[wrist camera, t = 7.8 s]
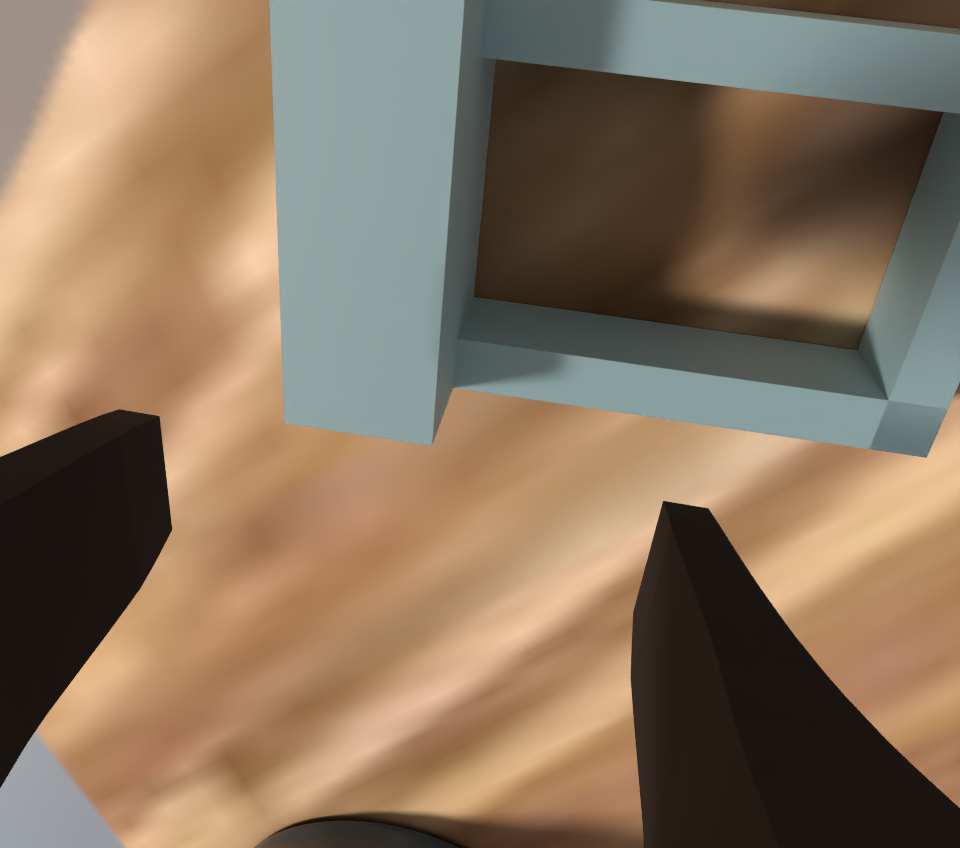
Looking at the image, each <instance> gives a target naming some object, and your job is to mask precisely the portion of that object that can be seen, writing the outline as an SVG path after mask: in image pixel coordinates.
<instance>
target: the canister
mask: <svg viewBox="0 0 960 848" xmlns="http://www.w3.org/2000/svg"><path fill="white" fill-rule="evenodd" d="M255 848H459V847H456V846H454V845H452V844H450V843H448V842H445V841H443V840H441V839H438V838H436V837H433V836H430V835H427V834H424V833H421V832H418V831H414V830H411V829H407V828H403V827H398V826H393V825H389V824H383V823H376V822H367V821H346V820H338V821H323V822H315V823H309V824H304V825H300V826H296V827H292V828H289V829H286V830H283V831H281V832H278V833H276V834H274V835H272V836H270V837H268V838H267V839H265V840H264V841H262V842H261V843H260V844H258V845H257V846H256V847H255Z"/></svg>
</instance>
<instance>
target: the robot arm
mask: <svg viewBox="0 0 960 848" xmlns="http://www.w3.org/2000/svg"><path fill="white" fill-rule="evenodd" d="M171 531H172V524H171V515H170V506H169V497H168V488H167V479H166V471H165V462H164V453H163V444H162V435H161V426H160V417H159V416H155V415H149V414H143V413H137V412H131V411H125V410H120V409H119V410H116V411H113V412H110V413H106V414H103V415H101V416H98V417H95V418H93V419H90V420H88V421H85V422H83V423H80V424H78V425H75V426H73V427H70V428H68V429H66V430H63V431H61V432H58V433H56V434H54V435H51V436H49V437H47V438H44V439H42V440H40V441H37V442H35V443H33V444H30V445H28V446H25V447H23V448H21V449H18V450H16V451H14V452H11V453H9V454H7V455H4V456H2V457H0V787H1V786H2V784H3V782H4V781H5V779H6V777H7V776H8V774H9V772H10V771H11V769H12V767H13V766H14V764H15V762H16V761H17V759H18V757H19V756H20V754H21V752H22V751H23V749H24V747H25V746H26V744H27V742H28V741H29V740H30V738H31V737H32V735H33V734H34V732H35V731H36V729H37V728H38V727H39V725H40V724H41V722H42V721H43V719H44V718H45V716H46V715H47V713H48V712H49V711H50V709H51V708H52V707H53V705H54V704H55V703H56V701H57V700H58V699H59V697H60V696H61V695H62V693H63V692H64V691H65V689H66V688H67V687H68V685H69V684H70V683H71V681H72V680H73V679H74V677H75V676H76V675H77V673H78V672H79V671H80V669H81V668H82V667H83V665H84V664H85V663H86V661H87V660H88V659H89V657H90V656H91V655H92V653H93V652H94V651H95V649H96V648H97V647H98V645H99V644H100V643H101V641H102V640H103V639H104V637H105V636H106V635H107V633H108V632H109V631H110V629H111V628H112V627H113V625H114V624H115V623H116V621H117V620H118V618H119V617H120V616H121V614H122V613H123V612H124V610H125V609H126V608H127V606H128V605H129V603H130V602H131V601H132V599H133V598H134V596H135V595H136V594H137V592H138V591H139V589H140V588H141V586H142V585H143V583H144V581H145V579H146V578H147V576H148V574H149V572H150V571H151V569H152V567H153V565H154V564H155V562H156V560H157V558H158V556H159V554H160V552H161V550H162V548H163V546H164V544H165V543H166V541H167V539H168V537H169V535H170V533H171ZM631 688H632V701H633V714H634V726H635V738H636V750H637V762H638V773H639V785H640V797H641V809H642V820H643V834H644V848H960V808H959V807H958V806H957V805H956V804H954V803H953V802H952V801H951V800H950V799H949V798H948V797H947V796H946V795H945V794H944V793H942V792H941V791H940V790H939V789H938V788H937V787H936V786H935V785H934V784H933V783H932V782H930V781H929V780H928V779H927V778H926V777H925V776H924V775H923V774H922V773H921V772H920V771H918V770H917V769H916V768H915V767H914V766H913V765H912V764H911V763H910V762H909V761H908V760H907V759H906V758H905V757H904V756H903V755H902V754H901V753H900V752H898V751H897V750H896V749H895V748H894V747H893V746H892V745H891V744H890V743H889V742H888V741H887V740H886V739H885V738H884V737H883V736H882V735H881V734H880V733H879V731H878V730H877V729H876V728H875V727H874V726H873V725H872V724H871V723H870V722H869V721H868V720H867V719H866V718H865V717H864V716H863V715H862V713H861V712H860V711H859V710H858V709H857V708H856V707H855V706H854V705H853V704H852V703H851V702H850V701H849V700H848V699H847V698H846V697H845V695H844V694H843V693H842V692H841V691H840V690H839V689H838V687H837V686H836V685H835V684H834V683H833V682H832V681H831V680H830V678H829V677H828V676H827V675H826V674H825V673H824V671H823V670H822V669H821V668H820V666H819V665H818V664H817V663H816V661H815V660H814V659H813V658H812V656H811V655H810V654H809V653H808V652H807V650H806V649H805V648H804V647H803V645H802V644H801V643H800V642H799V640H798V639H797V638H796V637H795V635H794V634H793V633H792V631H791V630H790V629H789V627H788V626H787V625H786V623H785V622H784V621H783V619H782V618H781V616H780V615H779V614H778V612H777V611H776V609H775V608H774V607H773V605H772V604H771V602H770V601H769V600H768V598H767V597H766V595H765V594H764V593H763V591H762V590H761V588H760V587H759V585H758V584H757V582H756V581H755V579H754V578H753V576H752V575H751V573H750V572H749V570H748V569H747V567H746V566H745V564H744V563H743V561H742V560H741V558H740V557H739V555H738V554H737V552H736V550H735V549H734V547H733V546H732V544H731V543H730V541H729V540H728V538H727V536H726V535H725V533H724V532H723V530H722V529H721V527H720V525H719V524H718V522H717V521H716V519H715V518H714V516H713V515H712V513H711V512H710V510H709V509H708V508H702V507H696V506H690V505H684V504H678V503H672V502H667V501H663V504H662V508H661V511H660V515H659V519H658V523H657V526H656V530H655V534H654V537H653V541H652V545H651V549H650V552H649V556H648V560H647V563H646V567H645V571H644V575H643V578H642V582H641V586H640V589H639V593H638V597H637V601H636V604H635V608H634V612H633V631H632V654H631Z"/></svg>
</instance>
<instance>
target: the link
mask: <svg viewBox="0 0 960 848" xmlns="http://www.w3.org/2000/svg"><path fill="white" fill-rule="evenodd" d="M269 1H270V30H271V58H272V86H273V115H274V143H275V171H276V200H277V228H278V256H279V284H280V313H281V341H282V369H283V398H284V423H286V424H293V425H299V426H306V427H313V428H319V429H326V430H332V431H339V432H345V433H352V434H358V435H365V436H371V437H378V438H384V439H391V440H398V441H404V442H411V443H417V444H424V445H430V446H432V444H433V442H434V439H435V436H436V433H437V431H438V428H439V425H440V422H441V419H442V417H443V414H444V411H445V408H446V406H447V403H448V400H449V397H450V395H451V392H452V389H453V388H458V389H465V390H472V391H479V392H486V393H492V394H499V395H506V396H513V397H519V398H526V399H533V400H540V401H547V402H553V403H560V404H567V405H574V406H580V407H587V408H594V409H601V410H608V411H614V412H621V413H628V414H635V415H641V416H648V417H655V418H662V419H669V420H675V421H682V422H689V423H696V424H702V425H709V426H716V427H723V428H730V429H736V430H743V431H750V432H757V433H763V434H770V435H777V436H784V437H791V438H797V439H804V440H811V441H818V442H824V443H831V444H838V445H845V446H852V447H858V448H865V449H872V450H879V451H885V452H892V453H899V454H906V455H913V456H919V457H926V458H927V455H928V453H929V451H930V449H931V446H932V444H933V442H934V439H935V437H936V435H937V433H938V430H939V428H940V426H941V424H942V421H943V419H944V417H945V415H946V412H947V410H948V408H949V406H950V403H951V401H952V399H953V396H954V394H955V392H956V390H957V387H958V385H959V383H960V29H959V28H950V27H941V26H932V25H923V24H914V23H904V22H895V21H886V20H877V19H868V18H859V17H850V16H841V15H832V14H823V13H814V12H805V11H796V10H786V9H777V8H768V7H759V6H750V5H741V4H732V3H723V2H714V1H705V0H269ZM496 59H498V60H507V61H515V62H524V63H532V64H541V65H549V66H558V67H566V68H575V69H583V70H592V71H600V72H609V73H617V74H626V75H634V76H643V77H651V78H660V79H668V80H677V81H685V82H694V83H702V84H711V85H719V86H728V87H736V88H745V89H753V90H762V91H770V92H779V93H787V94H796V95H804V96H813V97H821V98H830V99H838V100H847V101H855V102H864V103H872V104H881V105H890V106H898V107H907V108H915V109H924V110H932V111H941V112H943V115H942V118H941V121H940V123H939V126H938V129H937V132H936V134H935V137H934V140H933V143H932V146H931V148H930V151H929V154H928V157H927V159H926V162H925V165H924V168H923V170H922V173H921V176H920V179H919V181H918V184H917V187H916V190H915V193H914V195H913V198H912V201H911V204H910V206H909V209H908V212H907V215H906V217H905V220H904V223H903V226H902V229H901V231H900V234H899V237H898V240H897V242H896V245H895V248H894V251H893V253H892V256H891V259H890V262H889V264H888V267H887V270H886V273H885V276H884V278H883V281H882V284H881V287H880V289H879V292H878V295H877V298H876V300H875V303H874V306H873V309H872V312H871V314H870V317H869V320H868V323H867V325H866V328H865V331H864V334H863V336H862V339H861V342H860V345H859V347H858V350H853V349H845V348H838V347H831V346H824V345H817V344H809V343H802V342H795V341H788V340H781V339H773V338H766V337H759V336H752V335H745V334H738V333H730V332H723V331H716V330H709V329H702V328H694V327H687V326H680V325H673V324H666V323H658V322H651V321H644V320H637V319H630V318H623V317H615V316H608V315H601V314H594V313H587V312H579V311H572V310H565V309H558V308H551V307H543V306H536V305H529V304H522V303H515V302H507V301H500V300H493V299H486V298H479V297H474V290H475V279H476V269H477V258H478V247H479V237H480V226H481V215H482V205H483V194H484V183H485V172H486V162H487V151H488V140H489V130H490V119H491V108H492V98H493V87H494V76H495V66H496Z"/></svg>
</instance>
